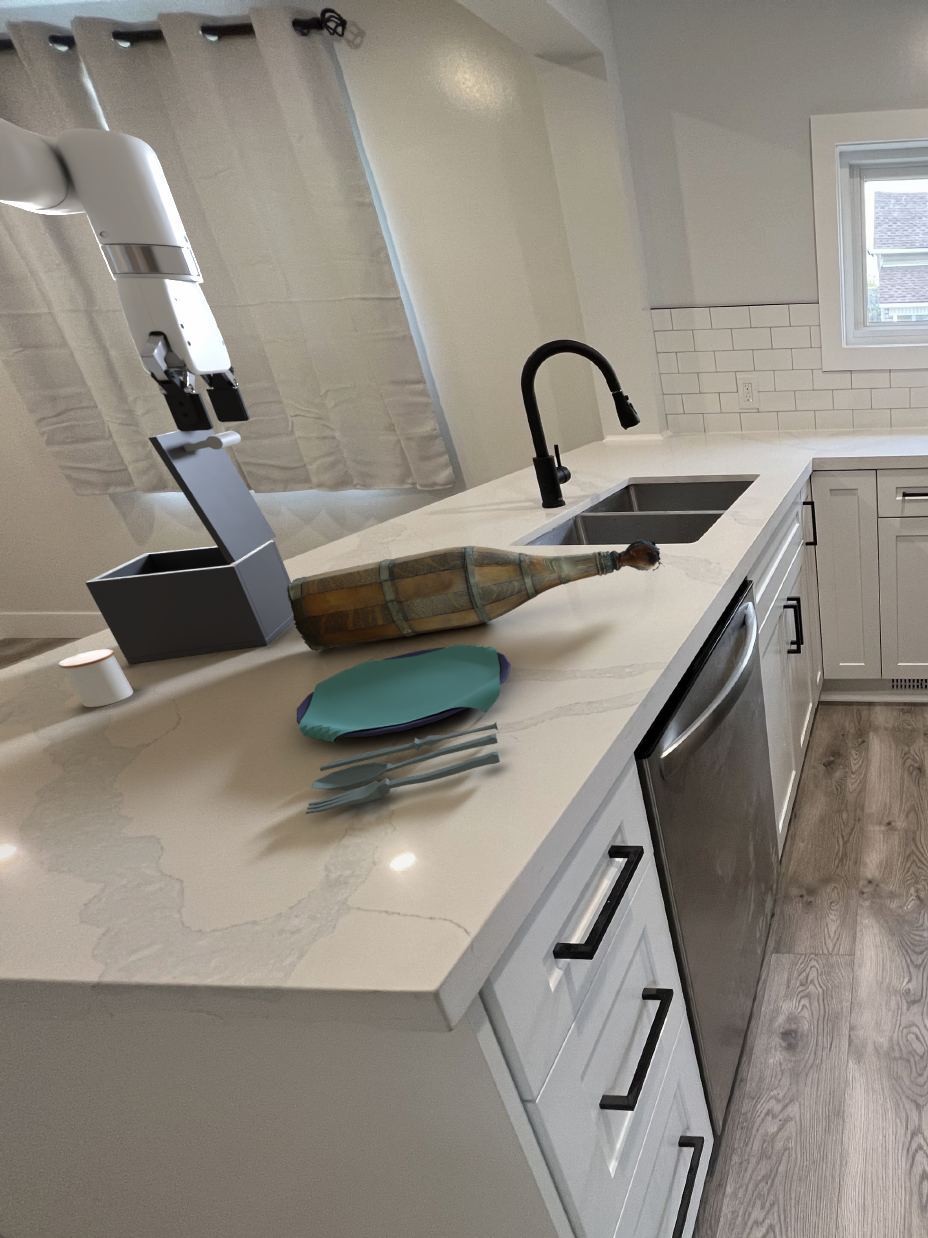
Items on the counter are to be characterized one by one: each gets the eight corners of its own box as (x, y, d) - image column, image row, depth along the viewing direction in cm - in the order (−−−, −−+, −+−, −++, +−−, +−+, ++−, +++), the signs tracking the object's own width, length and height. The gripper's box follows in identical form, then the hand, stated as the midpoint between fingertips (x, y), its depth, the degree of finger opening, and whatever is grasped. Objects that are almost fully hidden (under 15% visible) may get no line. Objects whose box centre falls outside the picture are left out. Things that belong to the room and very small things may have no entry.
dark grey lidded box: (128, 664, 86) (84, 582, 82) (180, 627, 97) (144, 553, 92) (267, 645, 90) (233, 566, 86) (303, 611, 101) (274, 540, 97)
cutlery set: (510, 647, 87) (505, 630, 86) (526, 766, 63) (520, 744, 62) (320, 685, 79) (313, 667, 78) (254, 838, 55) (242, 815, 54)
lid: (147, 437, 78) (195, 428, 79) (202, 425, 89) (244, 416, 90) (228, 563, 85) (271, 553, 86) (270, 537, 96) (308, 528, 97)
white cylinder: (73, 710, 75) (48, 668, 73) (97, 693, 79) (74, 652, 77) (121, 703, 77) (98, 661, 74) (142, 686, 80) (121, 646, 78)
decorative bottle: (286, 648, 81) (673, 582, 96) (269, 561, 82) (657, 510, 97) (324, 658, 91) (669, 597, 107) (309, 580, 92) (654, 531, 107)
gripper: (155, 273, 84) (213, 420, 91) (60, 259, 69) (138, 436, 76) (230, 273, 86) (281, 416, 93) (153, 260, 71) (220, 432, 78)
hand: (216, 425), depth 85 cm, fingers open, 9 cm apart
